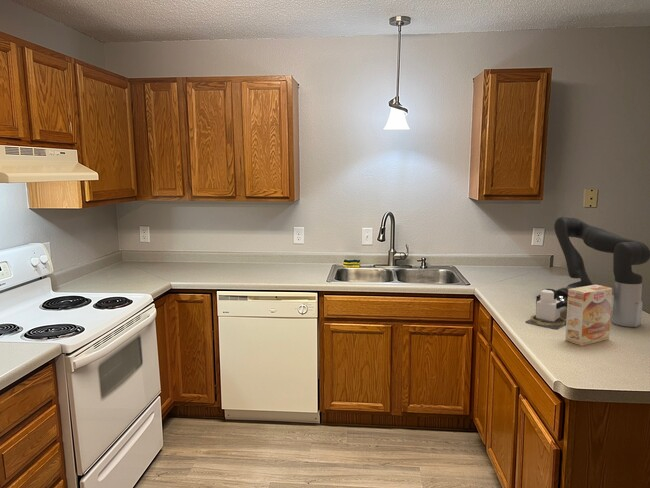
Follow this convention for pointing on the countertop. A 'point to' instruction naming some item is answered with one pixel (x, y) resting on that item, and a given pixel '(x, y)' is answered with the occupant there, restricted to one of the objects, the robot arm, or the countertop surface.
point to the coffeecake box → (588, 314)
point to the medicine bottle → (547, 306)
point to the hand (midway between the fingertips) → (547, 304)
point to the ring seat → (547, 322)
